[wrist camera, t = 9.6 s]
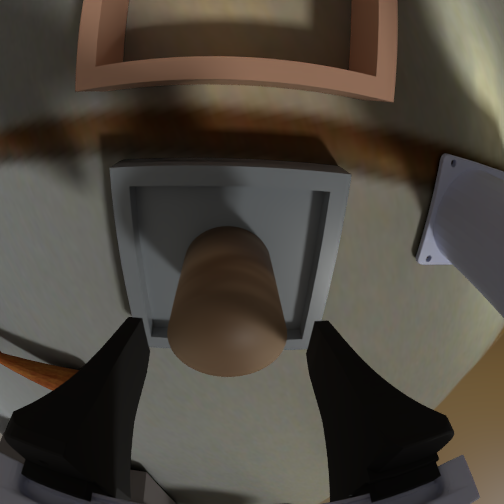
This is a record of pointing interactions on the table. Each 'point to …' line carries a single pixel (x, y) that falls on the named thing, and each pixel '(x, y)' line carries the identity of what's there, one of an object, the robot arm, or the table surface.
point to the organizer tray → (141, 483)
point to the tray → (228, 214)
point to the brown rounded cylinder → (227, 305)
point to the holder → (241, 58)
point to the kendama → (38, 371)
